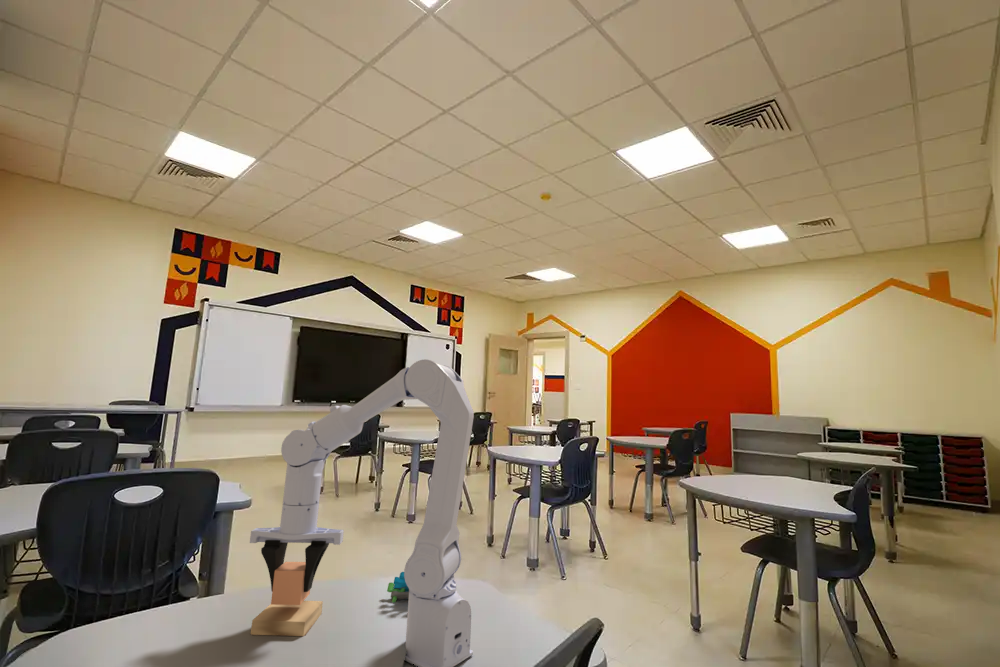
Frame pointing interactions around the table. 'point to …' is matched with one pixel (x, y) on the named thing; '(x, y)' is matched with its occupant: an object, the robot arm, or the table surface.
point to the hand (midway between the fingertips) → (291, 589)
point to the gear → (398, 588)
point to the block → (289, 584)
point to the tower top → (287, 619)
